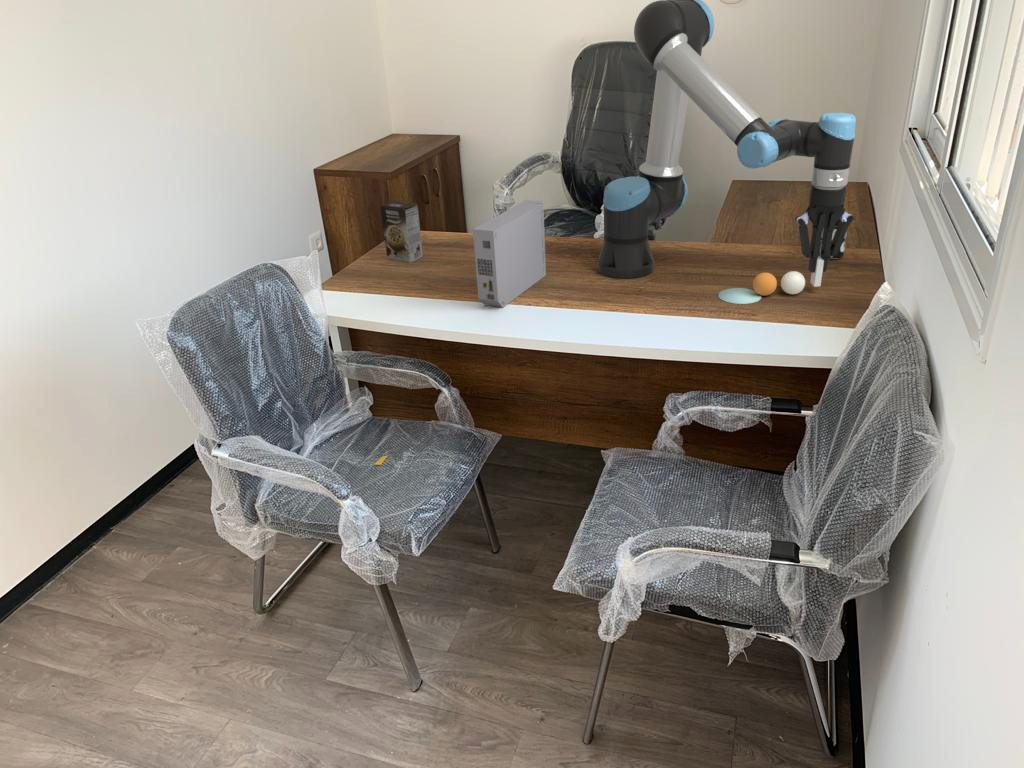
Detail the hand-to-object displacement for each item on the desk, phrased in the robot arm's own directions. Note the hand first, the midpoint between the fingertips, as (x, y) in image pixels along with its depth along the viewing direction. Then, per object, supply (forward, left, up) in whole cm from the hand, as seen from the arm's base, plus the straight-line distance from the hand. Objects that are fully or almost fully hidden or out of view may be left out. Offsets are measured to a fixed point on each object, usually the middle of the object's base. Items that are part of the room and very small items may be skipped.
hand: (815, 284), depth 182 cm
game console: (-72, +13, -2) cm, 73 cm away
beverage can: (+13, +24, -2) cm, 27 cm away
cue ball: (-5, 0, +1) cm, 6 cm away
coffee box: (-104, +45, -2) cm, 113 cm away
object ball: (-12, 0, +1) cm, 12 cm away
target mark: (-18, 0, -2) cm, 18 cm away
